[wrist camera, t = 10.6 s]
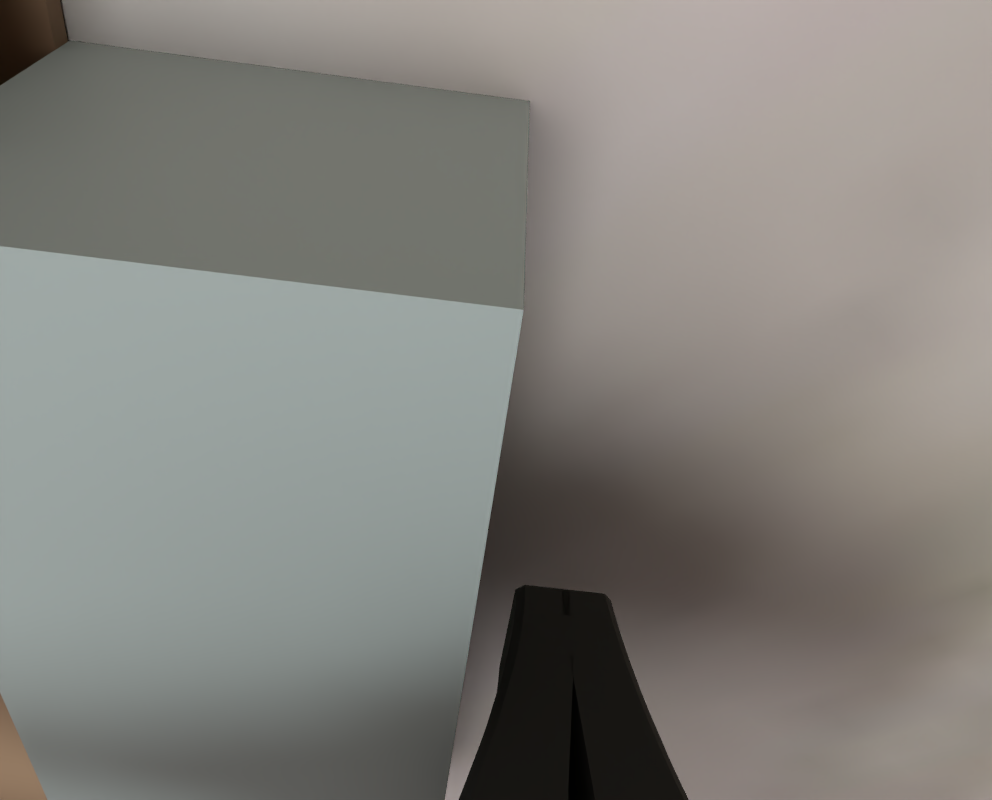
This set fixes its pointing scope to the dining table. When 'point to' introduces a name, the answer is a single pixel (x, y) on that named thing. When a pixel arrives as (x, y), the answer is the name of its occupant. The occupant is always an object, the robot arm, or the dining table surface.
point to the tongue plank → (248, 420)
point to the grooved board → (3, 54)
